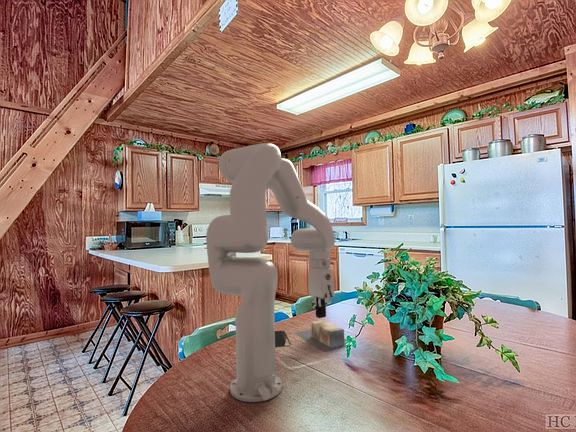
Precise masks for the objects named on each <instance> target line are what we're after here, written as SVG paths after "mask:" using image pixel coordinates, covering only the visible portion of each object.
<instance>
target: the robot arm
mask: <svg viewBox="0 0 576 432" xmlns="http://www.w3.org/2000/svg"><path fill="white" fill-rule="evenodd" d="M281 154H282V153H281V151H280V148H279V147H278V146H277V145H275V144H273V143H264V142H263V143H258V144H252V145H247V146H243V147H236V148H232V149H228V150H227V151H226V150H225V152H223V153H222V154H221V155H220V157H219V160H218V169H219V171H220V174H221V175H222V177H223V178H224V179H225V180H227V181H228V182H230V183H232V185H231V187H230V192H229V212H230V213H229V214H227V215H226V214H225V215H220V216H216V217H214V218H213V219H212V220H211V222H210V223H209V225H208V227H207V230H206V235H205V236H206V237H205V240H206V253H207V262H208V271H209V278H210V283H211V285H212V287H213V289H214V290H215V291H216V292H218V293H220V294H224V295H231V296H239V297H242V300H241V302H240V304H239V305H238V308H237V310H236V312H235V318H234V322H235V324H234V325H235V326H234V327H235V362H236V363H235V371H236V376H235V379H233V380H232V382H231V383H230V385H229V389H230V390H229V392H230V394H231V396H232V397H233V398H235V399H236V400H237V401H241V402H245V403H247V402H248V403H259V402H260V403H261V402H264V401H268V400H271V399H273V398H275V397H277V395H279V394H280V393H281V391H282V390H283V381H282V379H281V377H279V376H278V375H277V373H276V370H277V368H276V364H277V363H276V347H275V331H276V328H275V326H276V324H275V322H276V321H275V304H276V303H275V302H276V301H275V300H276V292H277V286H278V278H279V276H278V275H279V274H278V269H277V267H276V266H275V264H274V263H273V262H271V261H270V260H268V259H266V258H263V257H262V258H260V257H248V256H247V257H245V256H244V257H242V256H241V257H238V256H237V254H238V253H239V254H241V253H242V254H255V253H259V252H261V251H263V250H265V248H266V246H267V244H268V239H269V238H268V235H269V233H268V222H267V221H268V220H267V212H266V211H267V210H266V191H267V190H271V191H272V193H273V195H274V197H275V200H276V202H277V204H278V206H279V209H280V210H281V212H282V213H283V214H284V215H286V216H288V217H291V218H294V219H296V220H299V221H302V222H304V223H305V224H309V225H310V226H312V227H310V228H309V227H308V228H306V227H305V228H299V229H296V230H294V231H293V232H292V234H291V236H290V243H291V246H292V248H294V249H295V250H296V251H299V252H308V253H307V254H308V282H307V283H308V285H307V286H308V293H309V295H310V297H311V298H312V299H313V300H314V301H313V302H314V306H315V317H316V318H318V319H321V318H327V305H328V303H331V302H332V299H331V298H335V284H334V283H335V282H334V276H333V270H332V268H331V250H332V249H333V248H334V246H335V242H336V239H335V238H336V237H335V232H334V229H333V227H332V224H331V221H330V219H329V217H328V216H327V214H326V213H325V212H324V211H322V210H321V208H319V207H318V206H317V205H315V204H314V203H312V202H311V201H309V200H308V199H307V197H306V193H305V191H304V189H303V186H302V183H301V181H300V179H299V176H298V174H297V171H296V168H295V166H294V164H293V163H292V161H290V160H289V159H288V158H283V157H282V155H281Z"/></svg>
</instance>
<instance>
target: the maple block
mask: <svg viewBox="0 0 576 432" xmlns="http://www.w3.org/2000/svg"><path fill="white" fill-rule="evenodd" d="M310 323H311V325H310V326H311V328H310V330H311V331H312V337H313V338H315V339H317V340H319V341H320V342H322V343H324V344H326V345H327V346H329V347H331V348H334V347H338V346H342V345H344V339H345V329H344V328H342V327H340V326H338V325H336V324H333V323H332V322H328V321H327V320H324V319H320V320H315V321H311V322H310Z"/></svg>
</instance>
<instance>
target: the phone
mask: <svg viewBox="0 0 576 432" xmlns="http://www.w3.org/2000/svg"><path fill="white" fill-rule="evenodd" d="M286 342H288V345H286ZM291 345H292V344H291V341H290V339H289V338H288V336H287V333H286V332H285V330H275V348H282V347H283V348H284V347H290V346H291Z"/></svg>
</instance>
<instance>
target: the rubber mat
mask: <svg viewBox="0 0 576 432" xmlns="http://www.w3.org/2000/svg"><path fill="white" fill-rule="evenodd" d="M294 334H295V335H296V336H298V337H300V338H301V339H302V340H304V341H306V342H307V343H310V345H311V344H312V345H313V346H314V347H316V348H318V349H320V350H321V351H322V352H325V353H326V352H331V351H335V350H339V349H342V348H346V347H345V341H346V340H347V339H346V338H344V345H342V346H338V347H334V348H331V347H329V346H327V345H326V344H324V343H322V342H320V341H319V340H317V339H315V338H313V337H312V331H311V329H306V330H302V331H297V332H294Z"/></svg>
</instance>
